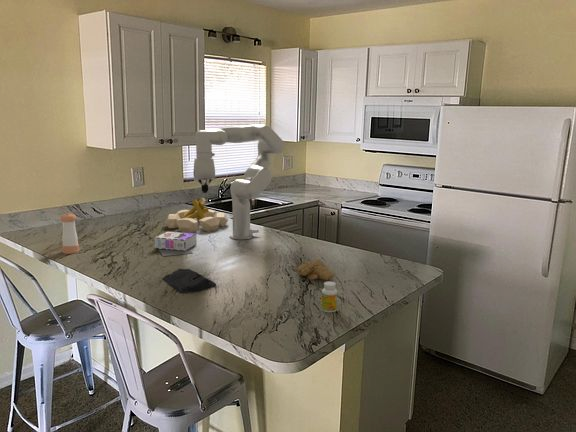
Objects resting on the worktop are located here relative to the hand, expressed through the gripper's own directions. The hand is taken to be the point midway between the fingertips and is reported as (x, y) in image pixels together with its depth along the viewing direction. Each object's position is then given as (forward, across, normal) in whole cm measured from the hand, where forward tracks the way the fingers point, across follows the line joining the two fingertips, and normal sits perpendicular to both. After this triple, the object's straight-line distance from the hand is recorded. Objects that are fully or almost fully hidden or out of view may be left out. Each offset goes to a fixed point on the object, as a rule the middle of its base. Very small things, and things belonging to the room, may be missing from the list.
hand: (204, 192), depth 241 cm
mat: (+27, +17, +6) cm, 32 cm away
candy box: (+24, +8, +4) cm, 26 cm away
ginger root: (+28, -28, +64) cm, 76 cm away
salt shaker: (+27, +63, -12) cm, 70 cm away
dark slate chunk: (+28, +22, +52) cm, 63 cm away
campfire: (+28, -6, -42) cm, 50 cm away
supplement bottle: (+27, -17, +97) cm, 102 cm away
